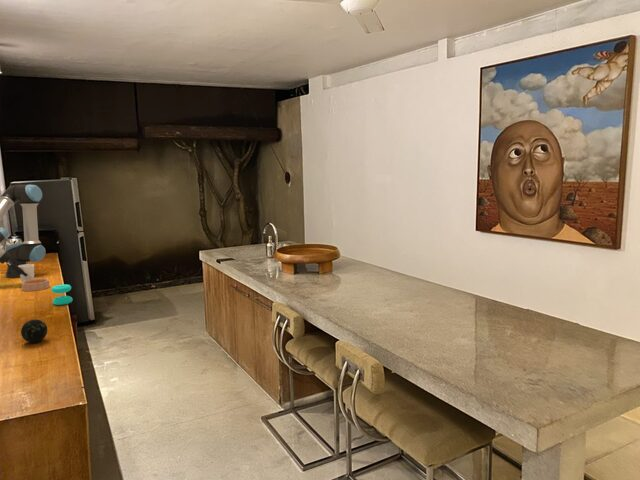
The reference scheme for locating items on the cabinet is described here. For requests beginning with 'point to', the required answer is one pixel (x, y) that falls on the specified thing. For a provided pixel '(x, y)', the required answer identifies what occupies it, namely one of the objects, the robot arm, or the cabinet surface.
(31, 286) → the bowl
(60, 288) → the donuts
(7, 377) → the cabinet surface
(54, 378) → the cabinet surface
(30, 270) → the foam cup
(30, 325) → the decorative stone
